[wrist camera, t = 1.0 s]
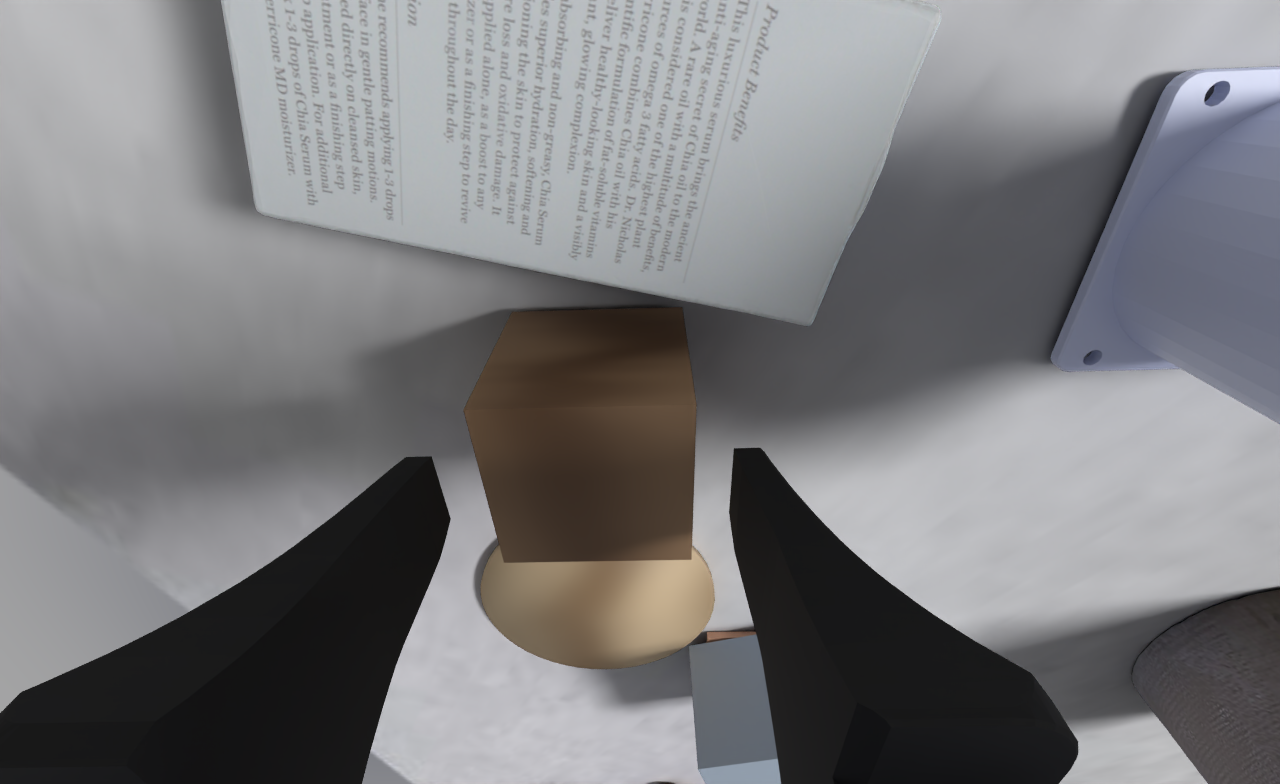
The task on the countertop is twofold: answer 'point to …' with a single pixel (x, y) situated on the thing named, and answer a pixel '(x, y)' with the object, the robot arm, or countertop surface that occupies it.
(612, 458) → the walnut block
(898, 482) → the countertop surface
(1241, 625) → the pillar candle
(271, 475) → the countertop surface
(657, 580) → the cork coaster
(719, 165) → the skincare box
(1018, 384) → the countertop surface
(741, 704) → the slate-blue block
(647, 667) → the countertop surface
